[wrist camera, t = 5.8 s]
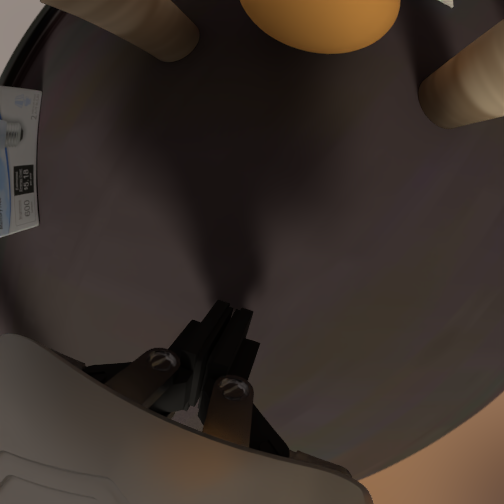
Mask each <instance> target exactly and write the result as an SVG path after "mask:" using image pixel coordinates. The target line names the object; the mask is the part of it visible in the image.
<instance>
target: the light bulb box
mask: <svg viewBox="0 0 504 504" xmlns="http://www.w3.org/2000/svg"><path fill="white" fill-rule="evenodd" d="M41 98H42V91H38V90H32V89H24V88H16V87H7V86H0V238H1V237H4V236H7V235H10V234H13V233H16V232H19V231H22V230H26V229H29V228H32V227H36V226H38V225H39V217H38V205H37V186H36V154H37V134H38V122H39V113H40V105H41Z"/></svg>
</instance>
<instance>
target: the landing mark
mask: <svg viewBox="0 0 504 504" xmlns="http://www.w3.org/2000/svg"><path fill="white" fill-rule="evenodd" d="M438 1H440V2H442V3H444V4H446V5H448V6H450V7H451V8H453V0H438Z"/></svg>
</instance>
